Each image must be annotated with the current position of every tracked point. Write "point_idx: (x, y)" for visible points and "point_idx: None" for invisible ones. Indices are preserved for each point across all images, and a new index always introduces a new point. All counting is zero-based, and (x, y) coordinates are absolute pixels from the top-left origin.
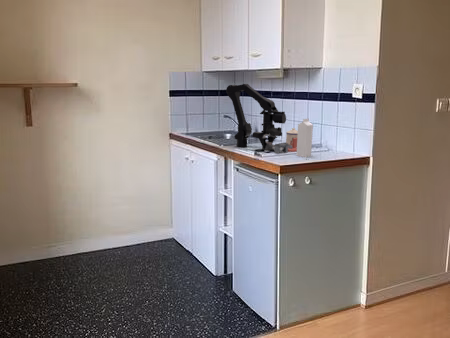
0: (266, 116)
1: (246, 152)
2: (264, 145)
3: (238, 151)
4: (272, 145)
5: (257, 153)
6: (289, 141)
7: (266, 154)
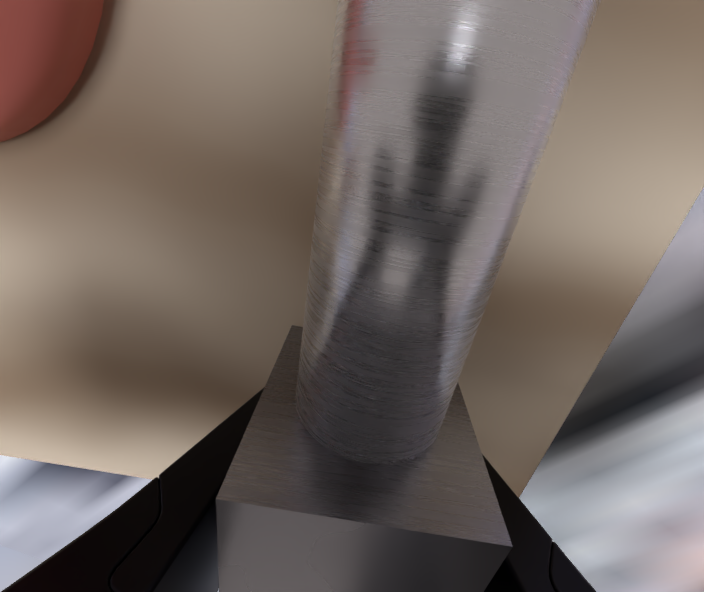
0: None
1: (638, 510)
2: (498, 484)
3: (627, 584)
4: (498, 236)
5: (620, 379)
6: None
7: None
